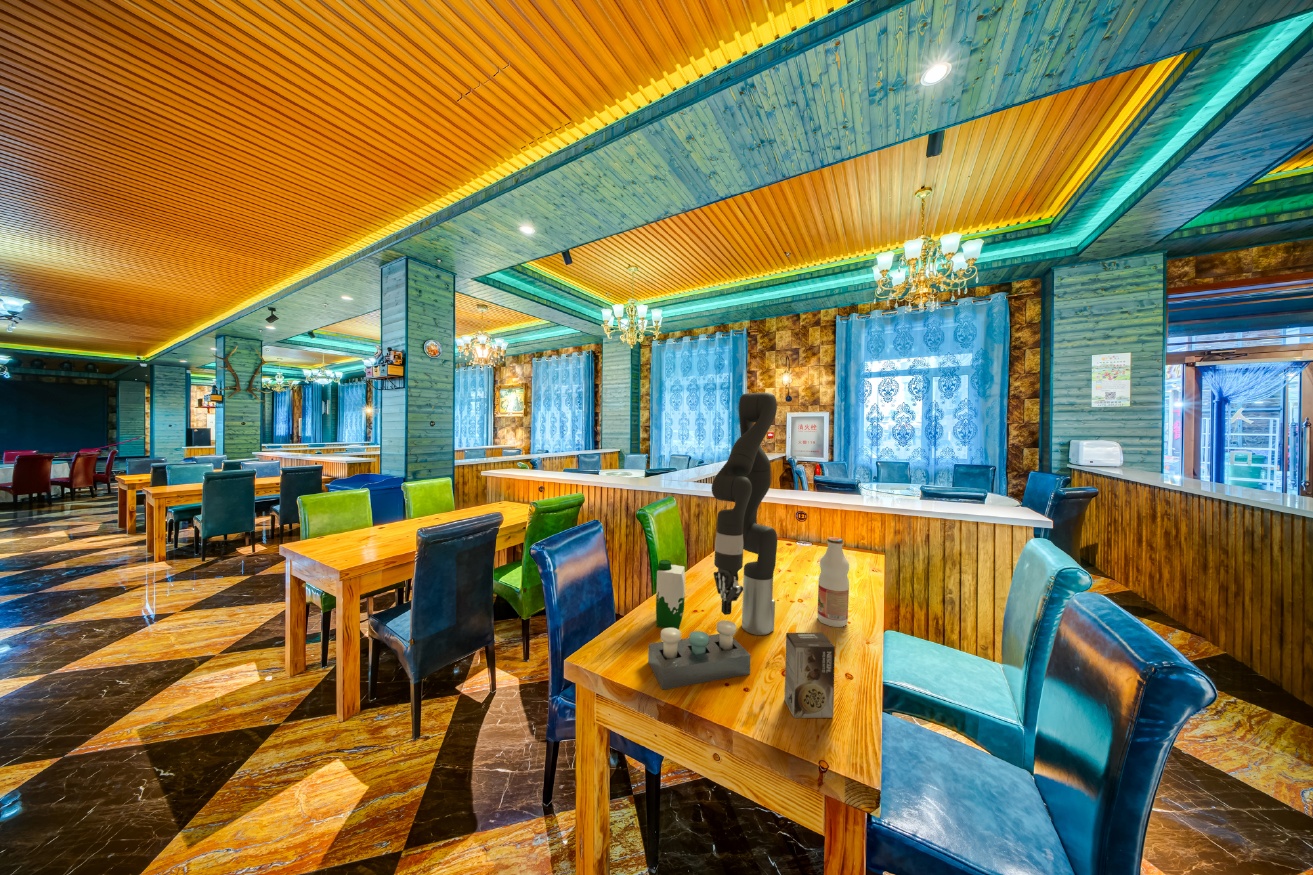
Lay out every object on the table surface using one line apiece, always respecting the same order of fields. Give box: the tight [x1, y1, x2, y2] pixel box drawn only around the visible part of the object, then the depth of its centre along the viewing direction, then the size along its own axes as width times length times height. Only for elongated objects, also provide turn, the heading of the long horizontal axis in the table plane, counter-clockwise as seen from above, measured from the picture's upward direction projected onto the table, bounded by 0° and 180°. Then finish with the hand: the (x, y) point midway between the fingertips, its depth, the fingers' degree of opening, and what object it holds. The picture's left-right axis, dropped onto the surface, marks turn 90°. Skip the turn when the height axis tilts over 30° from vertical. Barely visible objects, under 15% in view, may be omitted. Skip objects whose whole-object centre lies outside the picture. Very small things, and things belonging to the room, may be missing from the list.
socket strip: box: [647, 633, 752, 691], centre depth 106 cm, size 24×12×5 cm, turn 108°
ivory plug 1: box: [660, 628, 682, 659], centre depth 104 cm, size 5×5×6 cm
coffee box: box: [784, 632, 836, 719], centre depth 92 cm, size 9×6×16 cm
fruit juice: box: [817, 536, 850, 628], centre depth 135 cm, size 9×9×28 cm
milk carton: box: [655, 559, 686, 630], centre depth 130 cm, size 9×9×20 cm
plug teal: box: [688, 630, 710, 655], centre depth 106 cm, size 5×5×6 cm
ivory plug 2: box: [716, 620, 737, 650], centre depth 108 cm, size 5×5×6 cm
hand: (726, 613), depth 108 cm, fingers closed
